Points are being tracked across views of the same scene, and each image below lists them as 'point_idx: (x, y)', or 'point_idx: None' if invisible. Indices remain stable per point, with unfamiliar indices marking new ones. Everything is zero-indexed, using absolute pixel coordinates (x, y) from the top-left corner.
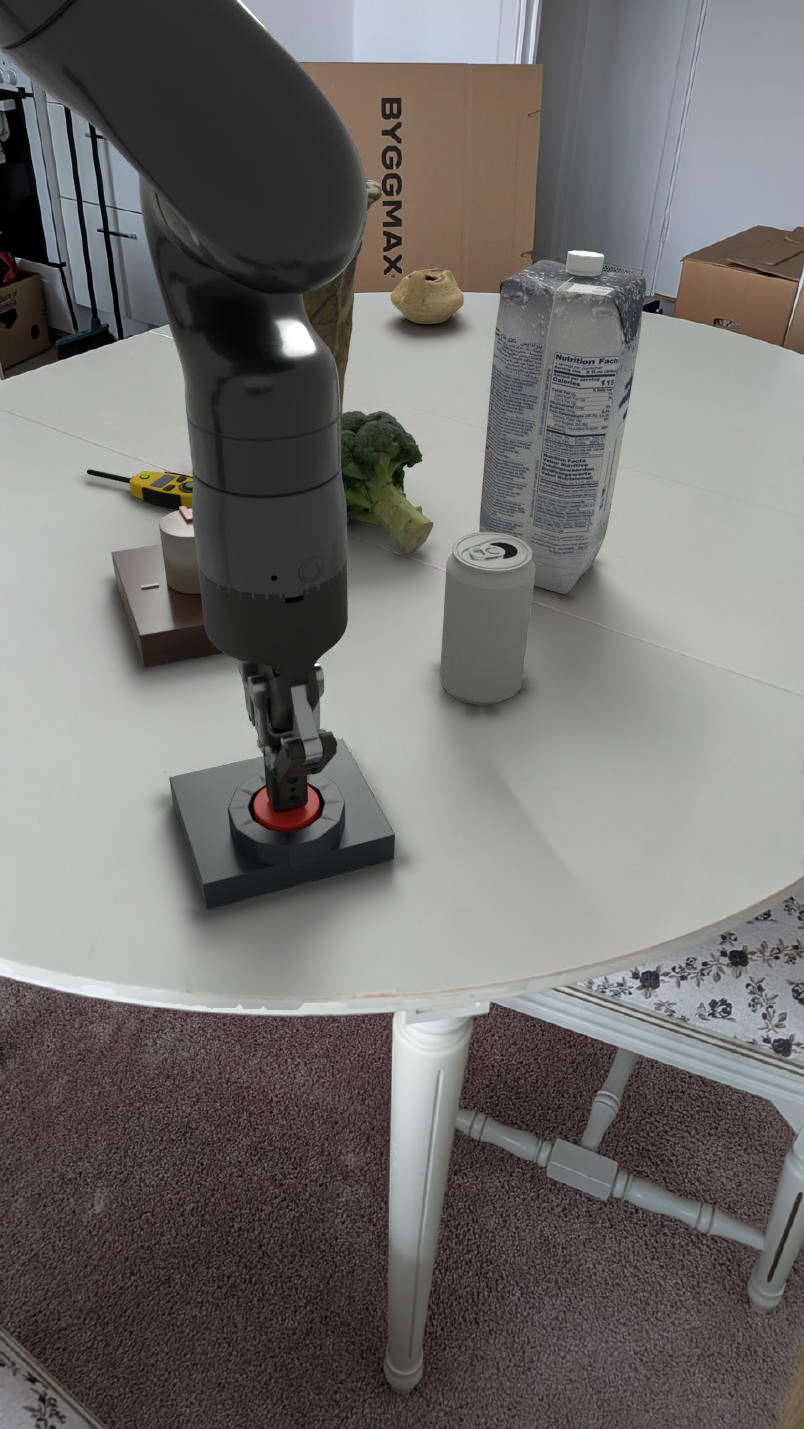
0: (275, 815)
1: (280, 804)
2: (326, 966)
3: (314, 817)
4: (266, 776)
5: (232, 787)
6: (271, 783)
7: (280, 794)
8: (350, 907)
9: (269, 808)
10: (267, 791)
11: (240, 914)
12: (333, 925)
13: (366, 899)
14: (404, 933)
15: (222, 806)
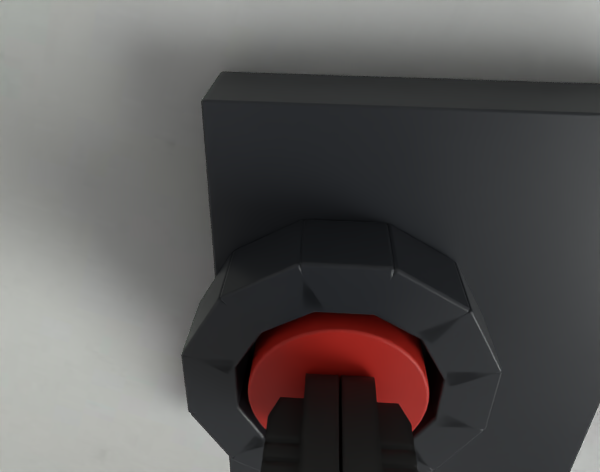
0: (298, 367)
1: (287, 412)
2: (13, 253)
3: None
4: (358, 455)
5: (548, 270)
6: (300, 467)
7: (274, 452)
8: (149, 331)
9: (333, 362)
10: (358, 400)
11: (186, 142)
12: (111, 294)
13: (161, 358)
14: (70, 380)
15: (489, 227)
